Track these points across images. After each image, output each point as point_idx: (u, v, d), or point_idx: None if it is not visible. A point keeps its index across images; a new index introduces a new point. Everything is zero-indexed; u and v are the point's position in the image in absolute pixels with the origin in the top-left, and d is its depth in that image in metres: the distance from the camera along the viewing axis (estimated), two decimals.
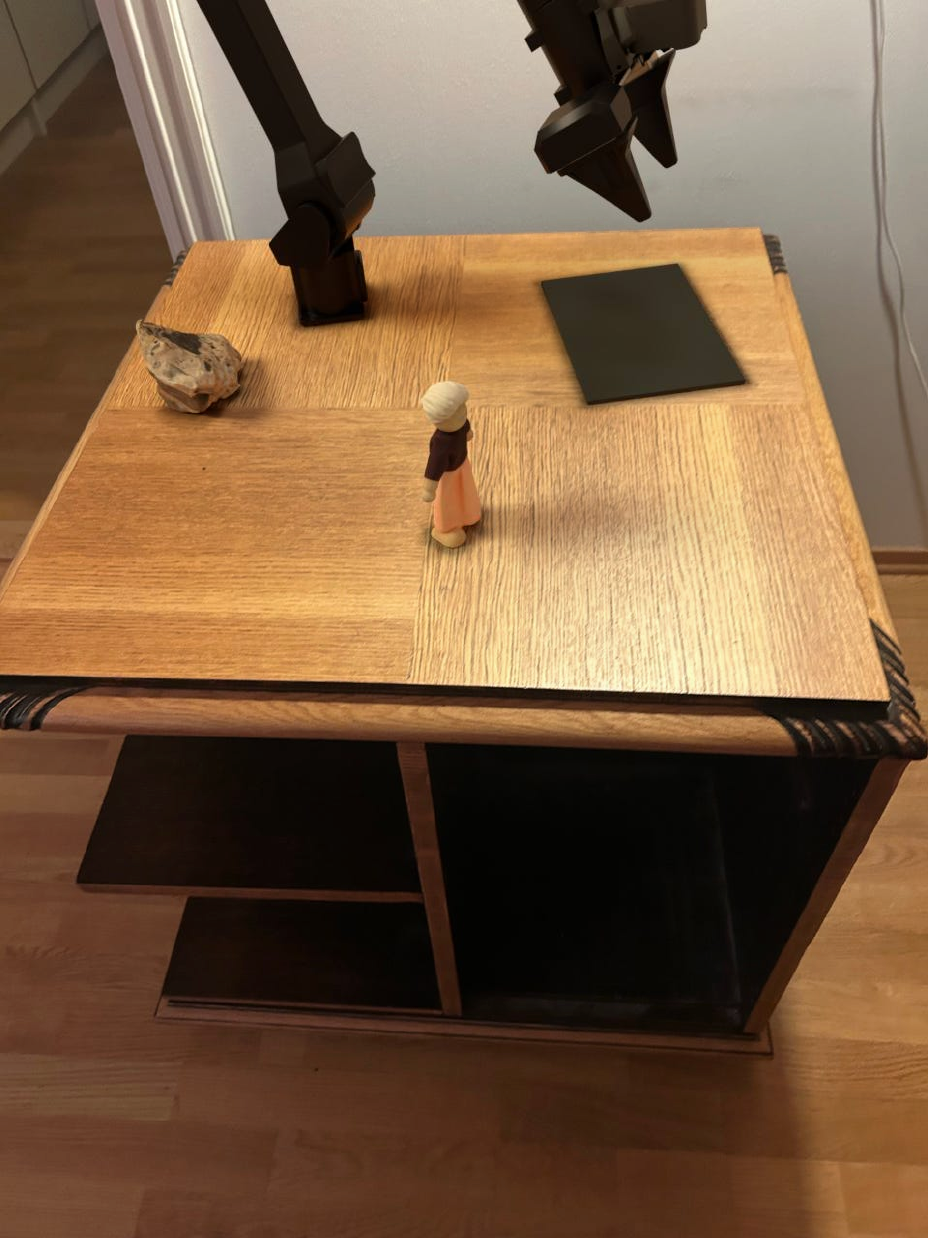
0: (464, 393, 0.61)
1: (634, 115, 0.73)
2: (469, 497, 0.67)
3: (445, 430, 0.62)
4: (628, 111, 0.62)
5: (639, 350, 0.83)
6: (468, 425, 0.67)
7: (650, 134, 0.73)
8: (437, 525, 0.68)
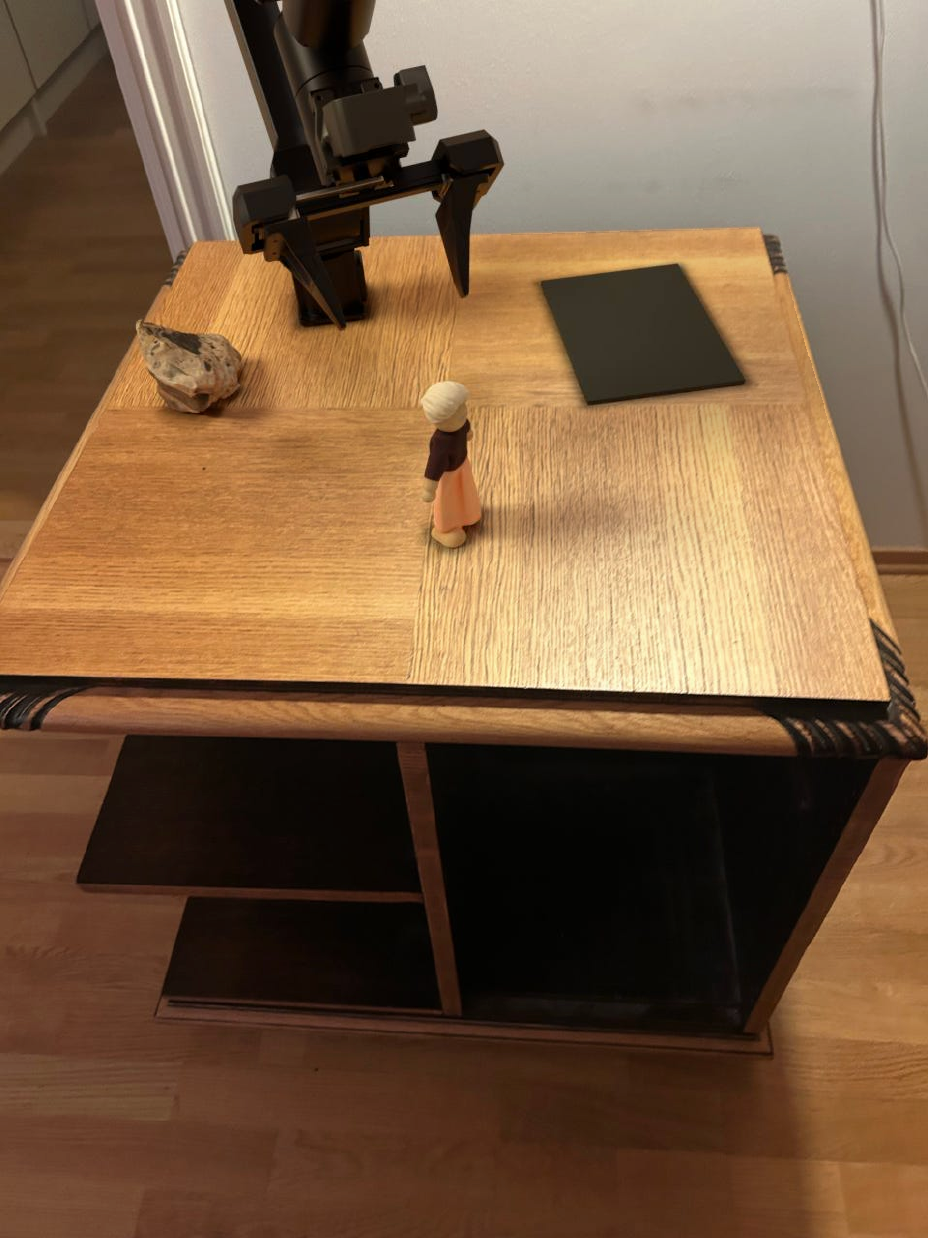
0: (464, 393, 0.61)
1: (445, 235, 0.67)
2: (469, 497, 0.67)
3: (445, 430, 0.62)
4: (285, 207, 0.60)
5: (639, 350, 0.83)
6: (468, 425, 0.67)
7: (451, 258, 0.66)
8: (437, 525, 0.68)
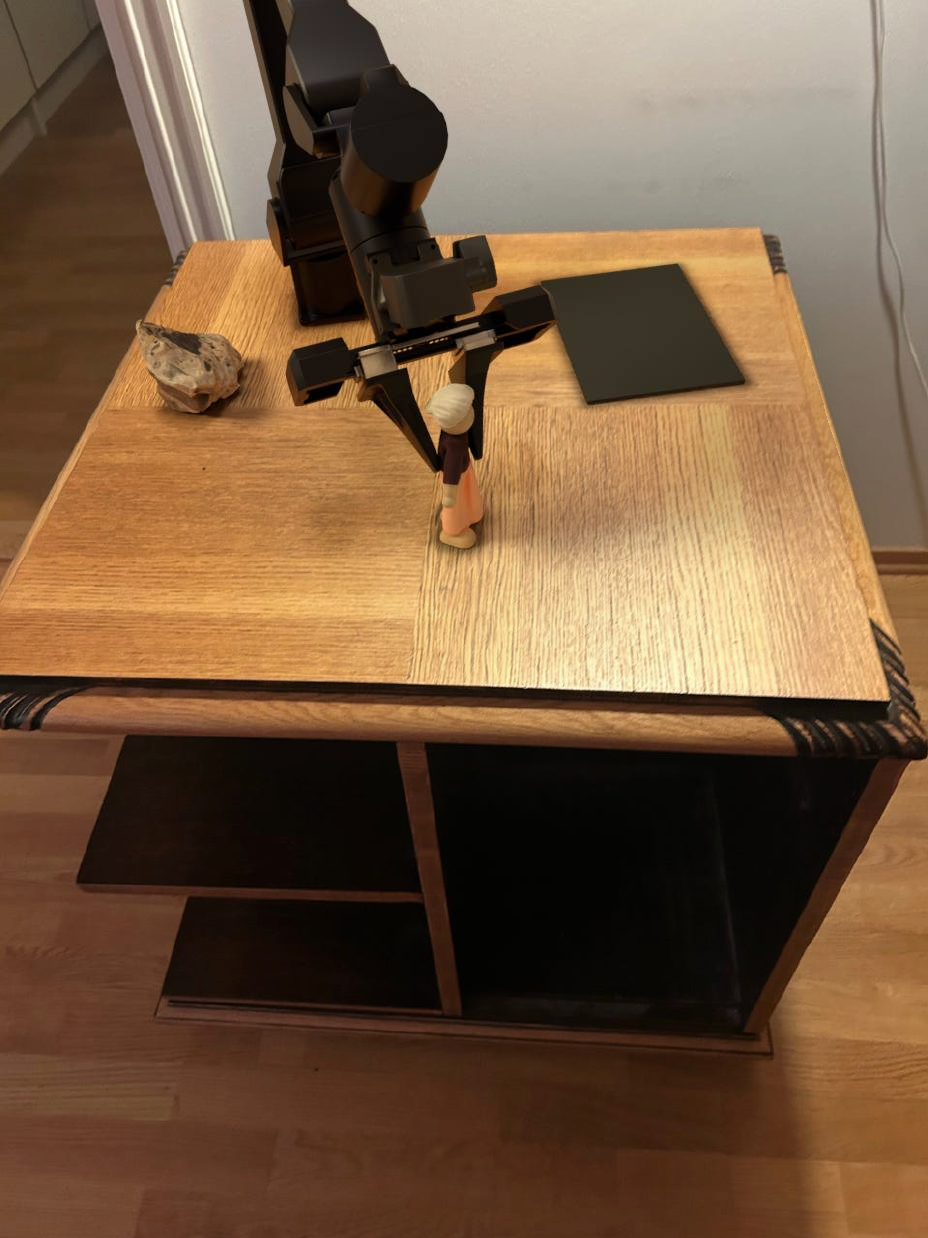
0: (472, 392, 0.61)
1: None
2: (476, 495, 0.68)
3: (457, 433, 0.62)
4: (340, 372, 0.59)
5: (639, 350, 0.83)
6: None
7: None
8: (449, 529, 0.68)
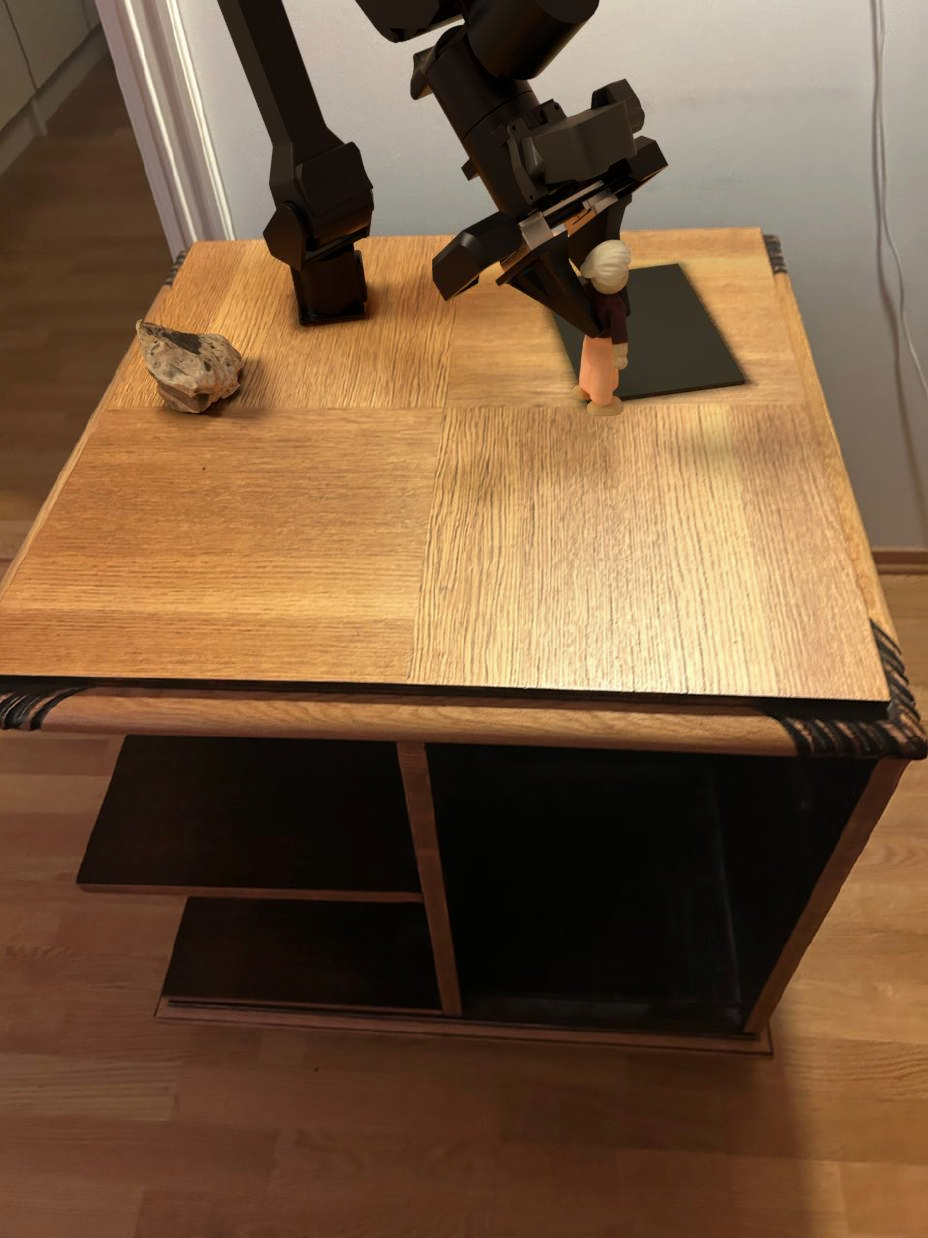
0: None
1: None
2: None
3: (618, 290, 0.63)
4: (515, 243, 0.58)
5: (639, 350, 0.83)
6: None
7: None
8: (603, 399, 0.68)
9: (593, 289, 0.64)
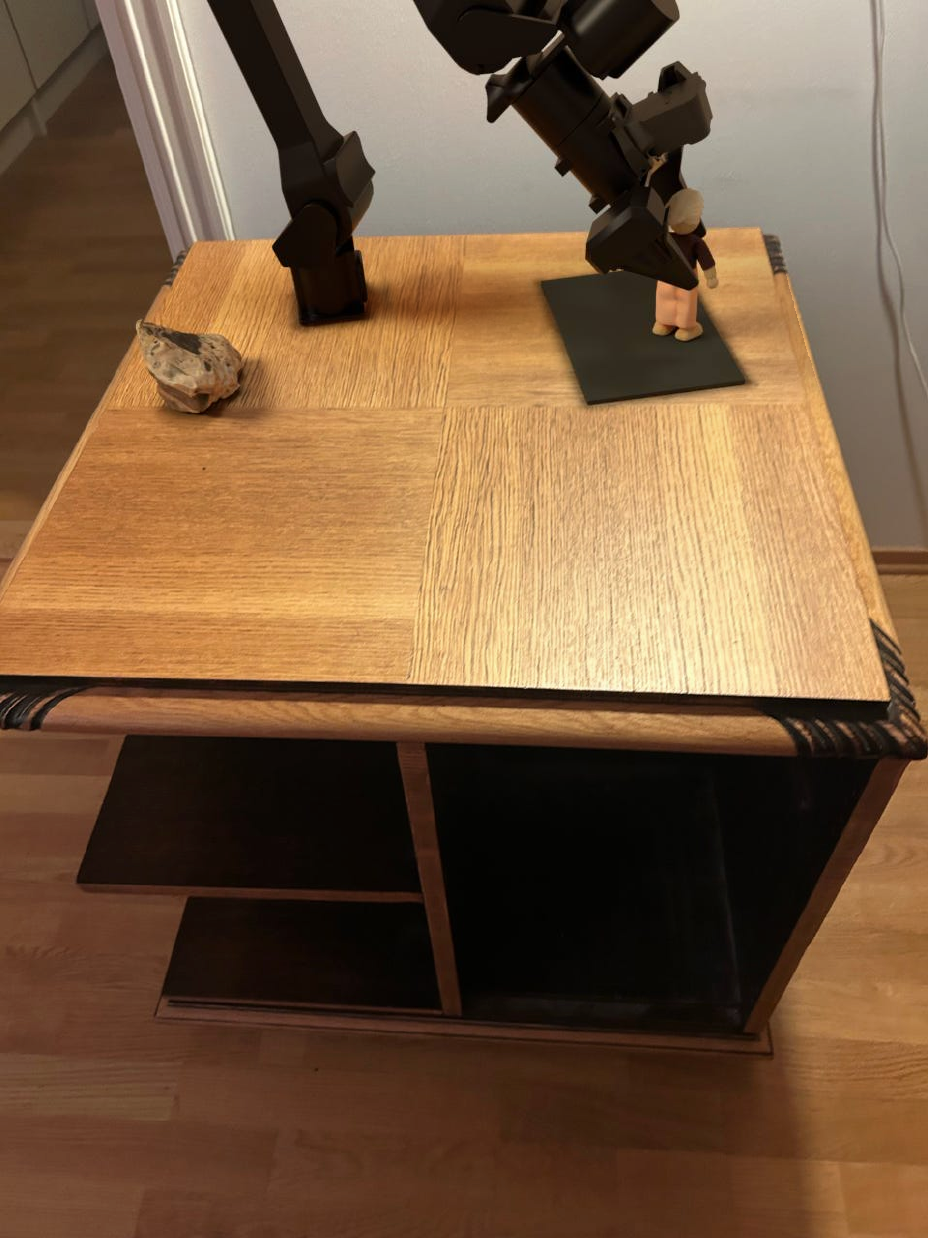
0: None
1: None
2: None
3: (696, 227, 0.77)
4: (662, 206, 0.70)
5: (639, 350, 0.83)
6: None
7: None
8: (692, 323, 0.83)
9: (672, 235, 0.78)
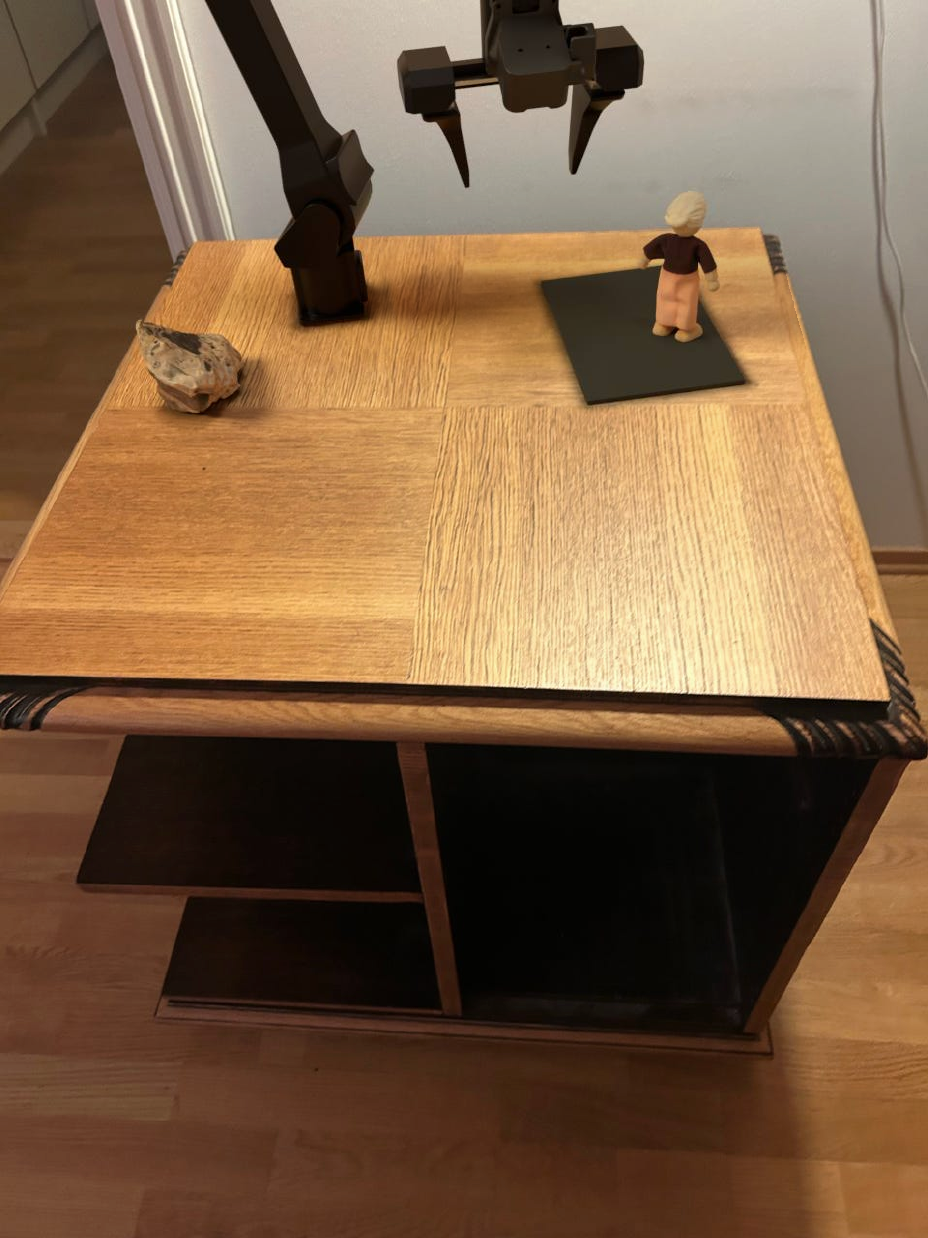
0: None
1: (574, 108, 0.76)
2: None
3: (698, 229, 0.77)
4: (444, 105, 0.70)
5: (639, 350, 0.83)
6: None
7: (572, 134, 0.77)
8: (692, 325, 0.83)
9: (674, 237, 0.78)
